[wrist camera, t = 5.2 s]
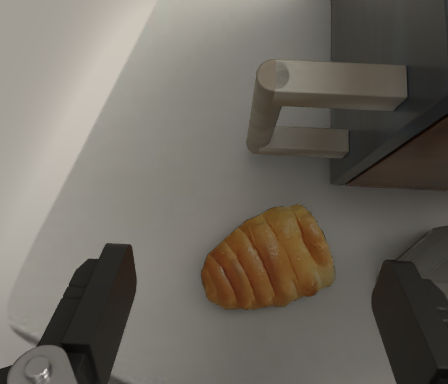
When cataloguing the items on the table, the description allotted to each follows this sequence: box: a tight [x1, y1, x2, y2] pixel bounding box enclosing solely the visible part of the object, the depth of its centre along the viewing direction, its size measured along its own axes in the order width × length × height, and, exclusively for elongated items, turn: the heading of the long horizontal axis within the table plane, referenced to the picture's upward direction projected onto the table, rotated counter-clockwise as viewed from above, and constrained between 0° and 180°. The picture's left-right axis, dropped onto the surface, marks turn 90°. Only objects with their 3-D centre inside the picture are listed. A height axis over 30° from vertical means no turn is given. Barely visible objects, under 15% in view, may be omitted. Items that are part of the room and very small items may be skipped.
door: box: [246, 0, 448, 185], centre depth 23 cm, size 8×18×16 cm, turn 177°
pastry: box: [201, 204, 335, 310], centre depth 27 cm, size 9×7×4 cm
